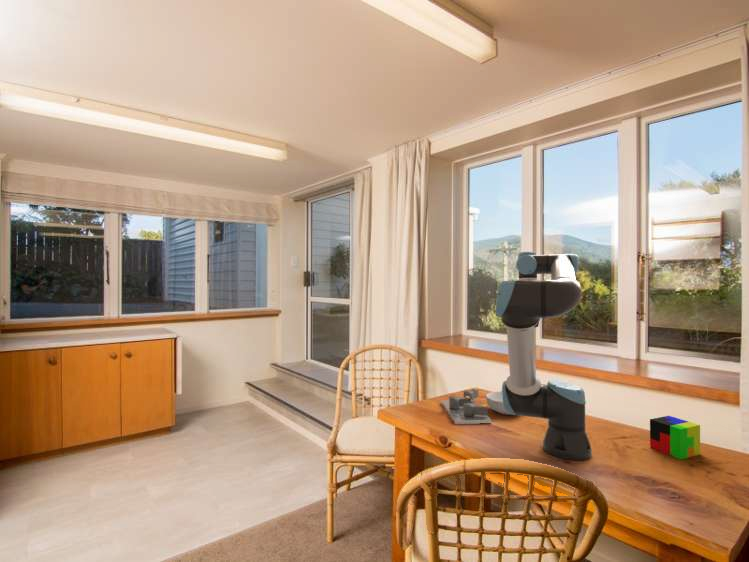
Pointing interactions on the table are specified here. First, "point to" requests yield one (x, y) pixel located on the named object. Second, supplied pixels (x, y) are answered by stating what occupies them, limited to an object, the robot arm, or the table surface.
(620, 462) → the table surface
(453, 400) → the knob
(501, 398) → the cereal bowl
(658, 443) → the puzzle toy
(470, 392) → the knob
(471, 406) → the knob
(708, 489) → the table surface
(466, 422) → the level plate
